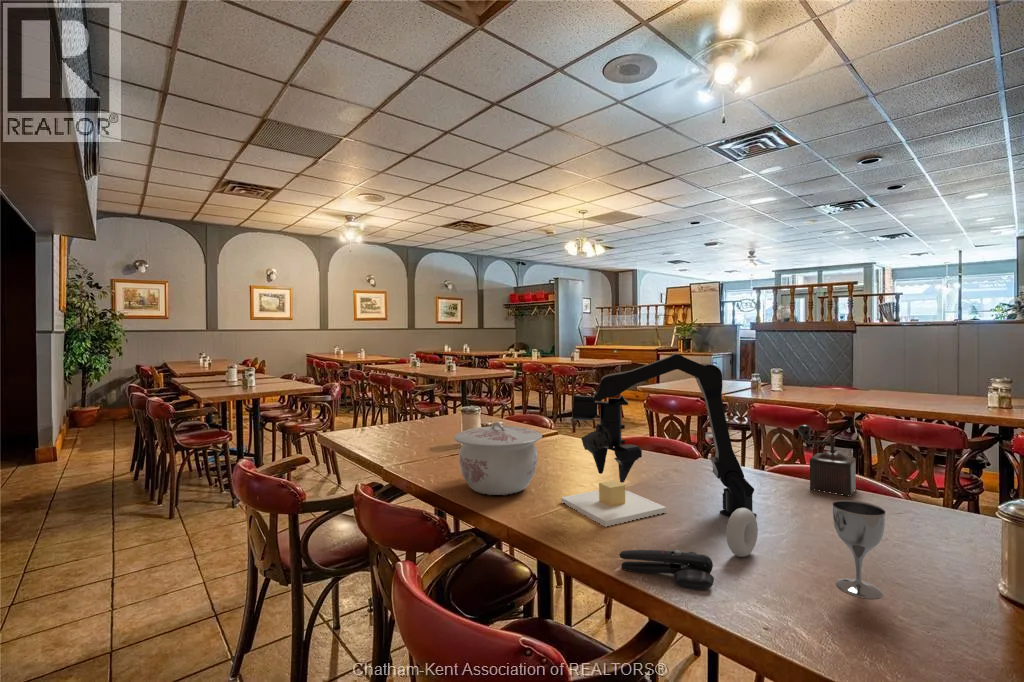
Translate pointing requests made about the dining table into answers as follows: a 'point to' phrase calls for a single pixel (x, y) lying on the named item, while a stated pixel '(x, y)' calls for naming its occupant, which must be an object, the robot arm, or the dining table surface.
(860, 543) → the wine glass
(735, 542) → the donut
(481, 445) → the chamber pot
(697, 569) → the can opener
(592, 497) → the board
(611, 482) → the cube
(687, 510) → the dining table surface
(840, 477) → the coffee grinder
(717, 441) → the robot arm
